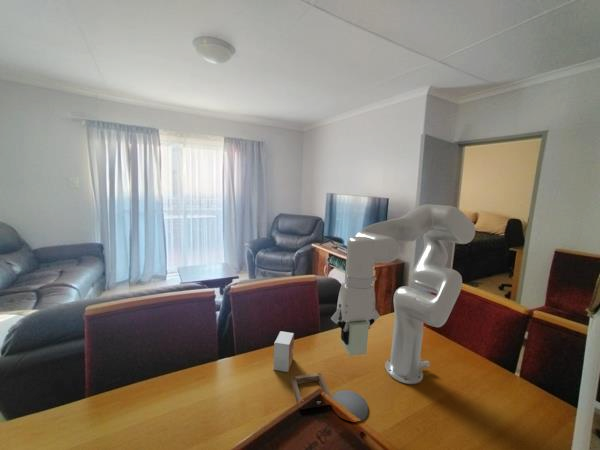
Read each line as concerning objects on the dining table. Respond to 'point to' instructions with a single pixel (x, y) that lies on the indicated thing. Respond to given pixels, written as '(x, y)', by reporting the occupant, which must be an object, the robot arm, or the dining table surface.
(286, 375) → the dining table surface
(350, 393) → the coaster
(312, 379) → the frame
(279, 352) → the small box
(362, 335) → the sage block
